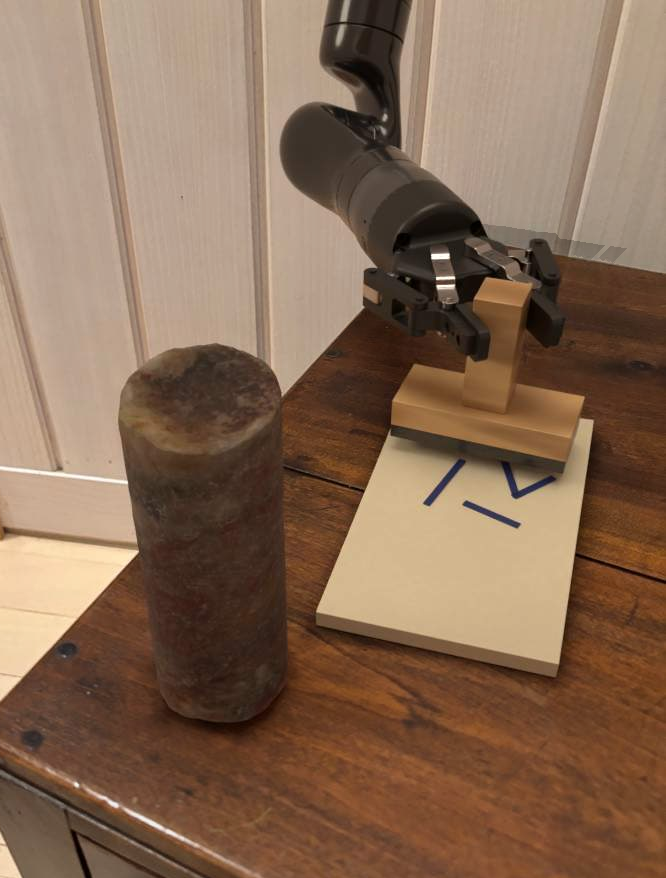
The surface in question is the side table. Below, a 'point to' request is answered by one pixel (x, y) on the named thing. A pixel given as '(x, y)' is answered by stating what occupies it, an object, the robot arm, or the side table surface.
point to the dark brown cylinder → (210, 526)
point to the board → (462, 555)
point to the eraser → (490, 395)
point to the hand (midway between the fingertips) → (520, 340)
